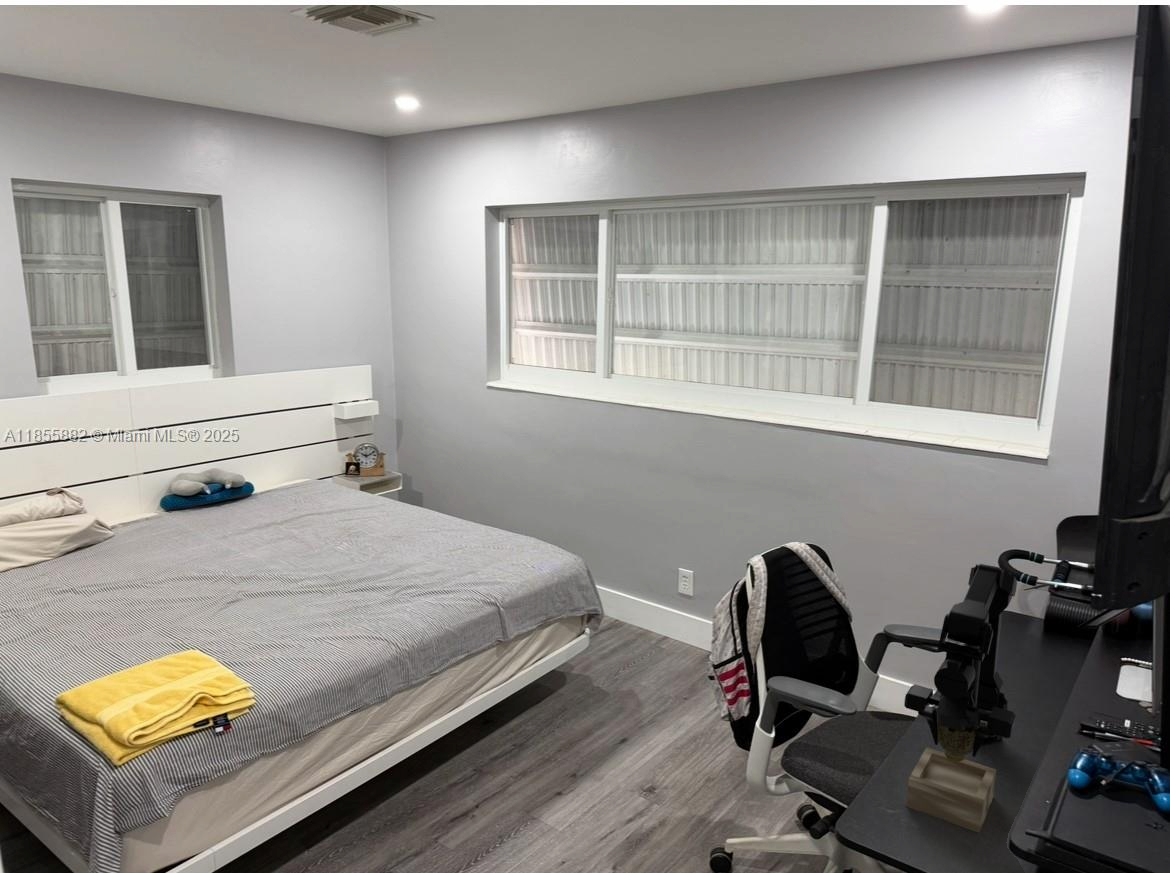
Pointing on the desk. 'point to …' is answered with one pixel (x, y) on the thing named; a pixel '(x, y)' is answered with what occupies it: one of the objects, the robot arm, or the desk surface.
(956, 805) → the wooden box
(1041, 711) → the desk surface
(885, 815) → the desk surface
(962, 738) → the cup
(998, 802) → the desk surface
